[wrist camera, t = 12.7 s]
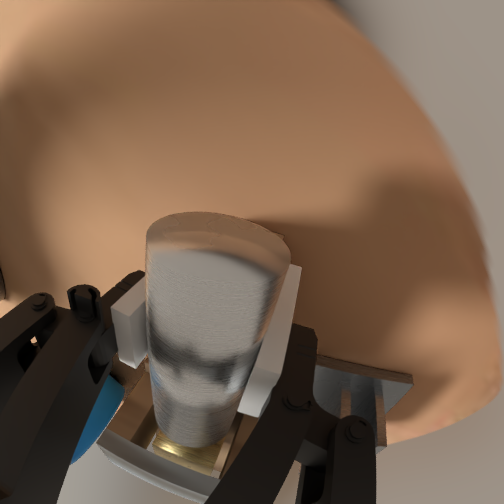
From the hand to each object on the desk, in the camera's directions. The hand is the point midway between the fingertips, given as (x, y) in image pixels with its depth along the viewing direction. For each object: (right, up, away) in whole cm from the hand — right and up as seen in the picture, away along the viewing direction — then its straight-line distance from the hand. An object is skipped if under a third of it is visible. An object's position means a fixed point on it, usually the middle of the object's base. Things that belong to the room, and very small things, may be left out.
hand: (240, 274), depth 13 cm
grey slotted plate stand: (+8, -11, +5) cm, 15 cm away
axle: (-1, -2, -2) cm, 3 cm away
